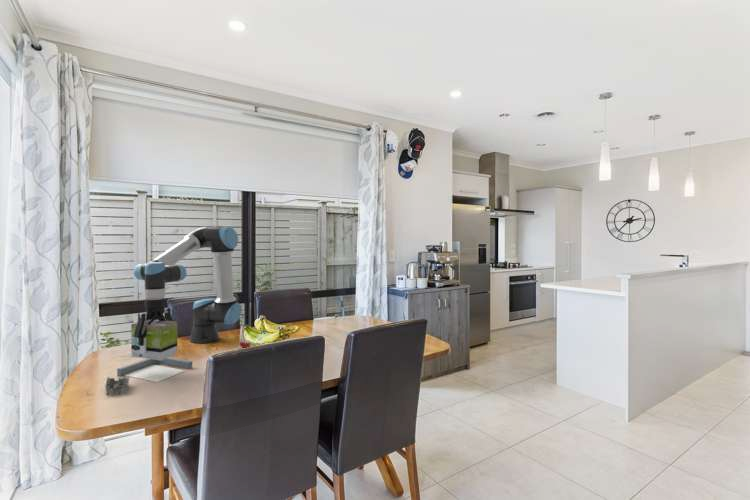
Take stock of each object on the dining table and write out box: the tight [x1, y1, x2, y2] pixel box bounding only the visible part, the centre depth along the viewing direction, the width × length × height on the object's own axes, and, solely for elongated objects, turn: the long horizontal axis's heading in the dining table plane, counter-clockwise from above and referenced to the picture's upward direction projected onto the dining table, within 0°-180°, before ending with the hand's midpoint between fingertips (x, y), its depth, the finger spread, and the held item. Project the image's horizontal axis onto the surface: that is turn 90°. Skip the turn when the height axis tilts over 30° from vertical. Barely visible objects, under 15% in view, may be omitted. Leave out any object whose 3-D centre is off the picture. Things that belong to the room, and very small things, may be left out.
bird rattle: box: [237, 341, 251, 349], centre depth 177 cm, size 6×11×9 cm
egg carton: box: [104, 376, 130, 396], centre depth 147 cm, size 11×8×4 cm
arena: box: [116, 356, 193, 383], centre depth 166 cm, size 20×22×3 cm
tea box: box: [130, 320, 178, 361], centre depth 163 cm, size 15×10×15 cm, turn 78°
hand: (154, 349), depth 163 cm, fingers closed on tea box, 10 cm apart
